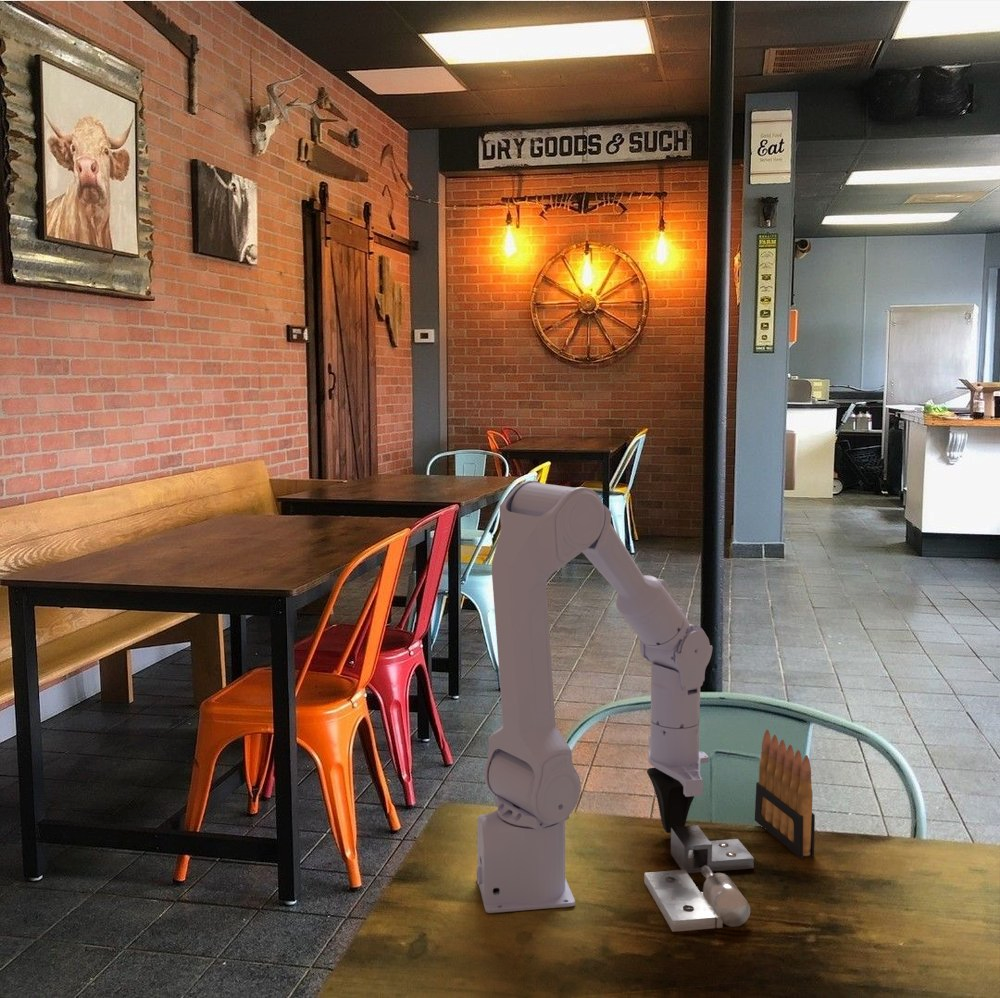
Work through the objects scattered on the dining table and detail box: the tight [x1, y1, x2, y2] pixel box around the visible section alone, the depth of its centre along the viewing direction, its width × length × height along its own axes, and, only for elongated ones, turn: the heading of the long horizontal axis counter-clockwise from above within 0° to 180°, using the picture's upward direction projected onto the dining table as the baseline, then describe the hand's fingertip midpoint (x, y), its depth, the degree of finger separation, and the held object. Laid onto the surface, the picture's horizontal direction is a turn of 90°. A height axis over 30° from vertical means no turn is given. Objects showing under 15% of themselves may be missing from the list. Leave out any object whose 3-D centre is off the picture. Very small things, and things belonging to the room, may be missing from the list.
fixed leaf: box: [643, 866, 751, 933], centre depth 107 cm, size 8×10×3 cm
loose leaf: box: [670, 825, 755, 874], centre depth 116 cm, size 8×5×3 cm, turn 98°
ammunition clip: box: [754, 729, 816, 859], centre depth 122 cm, size 11×2×12 cm, turn 15°
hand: (673, 830), depth 123 cm, fingers closed
